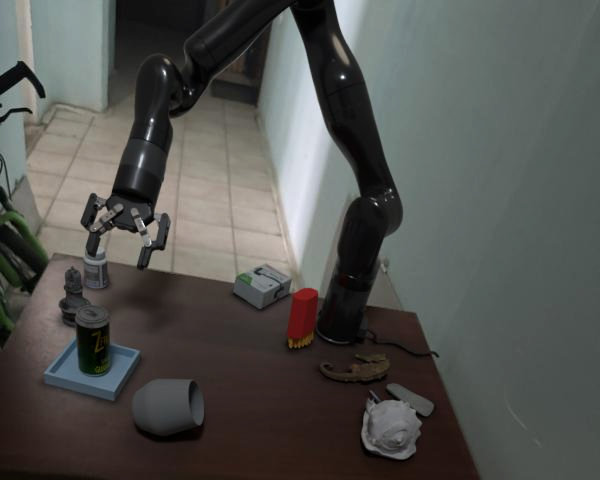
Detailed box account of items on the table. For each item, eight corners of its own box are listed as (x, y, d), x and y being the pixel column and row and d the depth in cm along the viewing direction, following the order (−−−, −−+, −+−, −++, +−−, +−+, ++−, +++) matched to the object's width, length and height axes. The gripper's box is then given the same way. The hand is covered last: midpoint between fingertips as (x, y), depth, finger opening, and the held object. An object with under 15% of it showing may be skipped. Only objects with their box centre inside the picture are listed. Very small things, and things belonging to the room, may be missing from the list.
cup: (154, 411, 92) (208, 404, 91) (143, 450, 85) (201, 443, 84) (133, 371, 86) (191, 362, 85) (119, 409, 79) (181, 400, 78)
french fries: (287, 296, 106) (281, 346, 113) (303, 303, 104) (296, 353, 112) (310, 284, 112) (303, 332, 119) (325, 290, 110) (317, 338, 117)
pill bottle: (100, 275, 116) (99, 241, 111) (111, 286, 114) (111, 251, 109) (80, 280, 113) (78, 245, 108) (91, 291, 111) (90, 256, 106)
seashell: (377, 406, 106) (394, 368, 99) (423, 453, 98) (444, 415, 92) (331, 421, 99) (345, 381, 93) (376, 473, 92) (395, 433, 85)
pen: (415, 437, 100) (371, 389, 107) (413, 437, 100) (369, 389, 107) (412, 440, 101) (369, 392, 108) (410, 440, 100) (367, 392, 107)
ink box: (235, 275, 120) (265, 261, 129) (232, 293, 123) (261, 279, 132) (264, 292, 118) (293, 277, 126) (260, 310, 121) (289, 294, 129)
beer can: (71, 370, 92) (67, 314, 84) (91, 355, 96) (88, 300, 88) (97, 382, 92) (95, 327, 84) (116, 366, 96) (116, 312, 88)
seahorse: (341, 384, 103) (340, 396, 105) (401, 362, 111) (399, 374, 113) (315, 363, 109) (314, 376, 111) (373, 344, 117) (372, 356, 119)
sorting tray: (140, 360, 99) (140, 350, 98) (114, 401, 90) (114, 391, 88) (77, 343, 98) (76, 333, 97) (44, 383, 89) (43, 373, 88)
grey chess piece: (96, 315, 106) (94, 262, 98) (84, 331, 101) (81, 277, 94) (67, 308, 105) (63, 254, 98) (54, 323, 101) (48, 269, 93)
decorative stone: (390, 383, 112) (381, 394, 108) (392, 378, 111) (383, 389, 107) (434, 408, 109) (426, 420, 106) (436, 403, 108) (428, 415, 105)
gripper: (93, 152, 86) (66, 244, 85) (177, 175, 87) (151, 267, 86) (107, 174, 94) (82, 258, 93) (184, 195, 95) (160, 279, 93)
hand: (115, 262), depth 89 cm, fingers open, 8 cm apart
